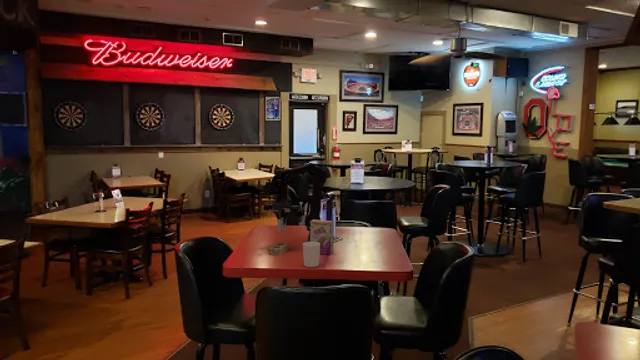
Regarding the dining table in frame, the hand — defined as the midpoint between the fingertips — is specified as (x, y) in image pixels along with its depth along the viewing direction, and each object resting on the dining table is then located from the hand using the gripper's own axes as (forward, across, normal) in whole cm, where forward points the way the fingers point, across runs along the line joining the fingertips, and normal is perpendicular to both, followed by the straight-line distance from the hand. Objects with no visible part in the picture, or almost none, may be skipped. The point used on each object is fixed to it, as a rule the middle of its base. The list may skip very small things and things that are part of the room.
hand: (282, 224), depth 247 cm
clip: (+3, 0, 0) cm, 3 cm away
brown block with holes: (+13, 0, -4) cm, 14 cm away
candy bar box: (+13, +22, -1) cm, 25 cm away
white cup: (+13, +23, -23) cm, 35 cm away
